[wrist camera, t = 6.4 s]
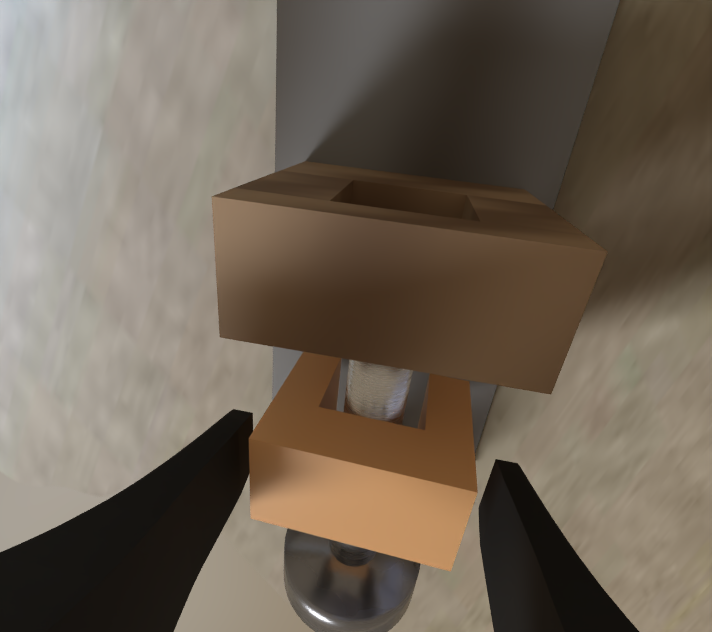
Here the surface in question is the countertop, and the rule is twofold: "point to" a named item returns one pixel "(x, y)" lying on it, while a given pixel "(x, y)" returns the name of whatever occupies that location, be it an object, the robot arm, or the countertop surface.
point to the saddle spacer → (365, 467)
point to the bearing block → (418, 193)
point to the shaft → (347, 562)
